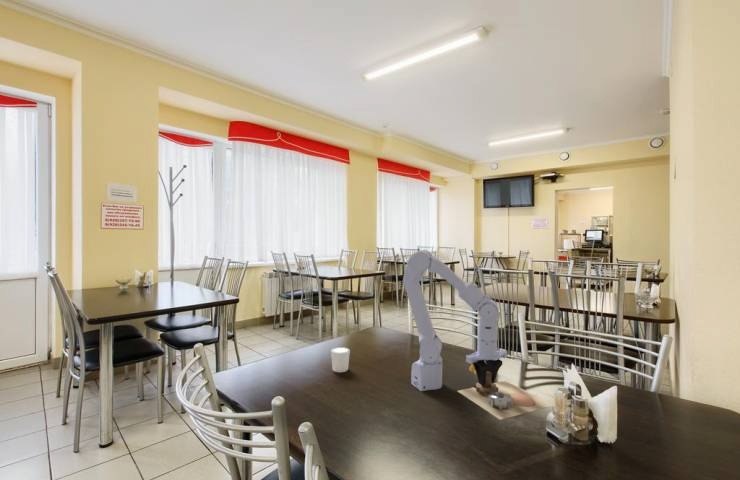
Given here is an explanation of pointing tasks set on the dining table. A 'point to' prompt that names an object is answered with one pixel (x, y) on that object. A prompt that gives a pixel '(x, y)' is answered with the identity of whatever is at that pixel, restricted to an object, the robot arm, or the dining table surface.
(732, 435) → the dining table surface
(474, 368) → the bread roll
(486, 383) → the planet gear
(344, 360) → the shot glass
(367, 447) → the dining table surface
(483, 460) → the dining table surface
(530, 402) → the pink flat pad
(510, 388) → the carrier board
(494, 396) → the sun gear
